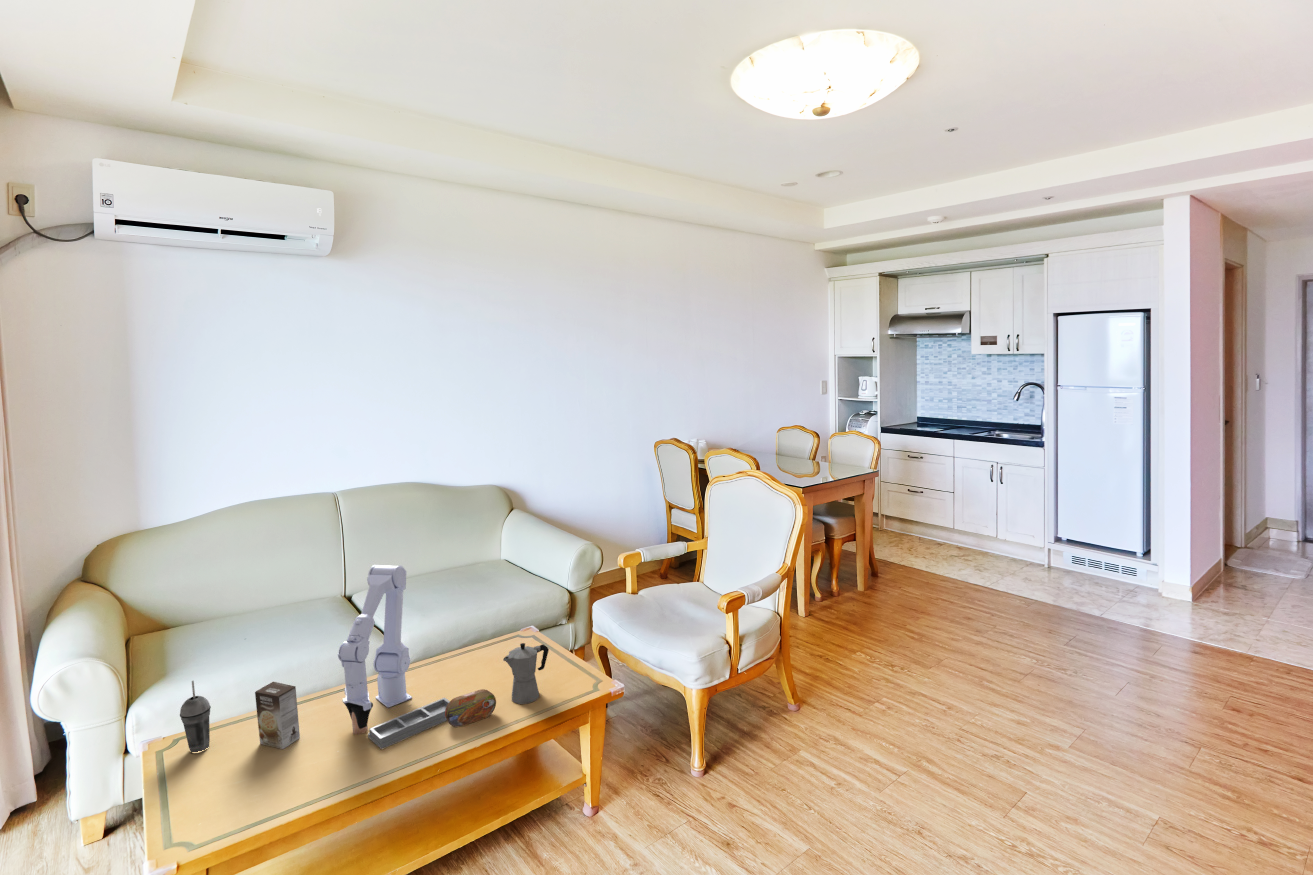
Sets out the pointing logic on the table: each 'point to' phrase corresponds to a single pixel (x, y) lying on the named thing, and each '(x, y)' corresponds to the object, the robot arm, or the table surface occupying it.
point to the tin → (470, 708)
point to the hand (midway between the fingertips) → (359, 724)
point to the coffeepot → (525, 672)
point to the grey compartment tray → (408, 724)
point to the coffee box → (277, 715)
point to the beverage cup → (196, 721)
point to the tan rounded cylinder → (355, 726)
